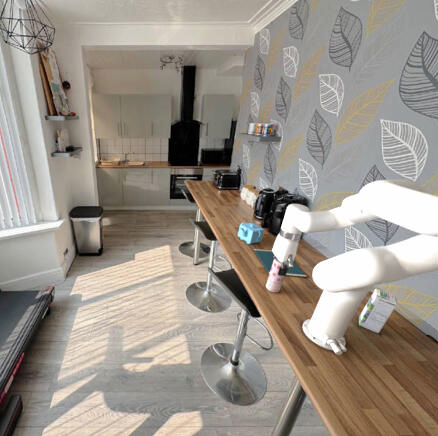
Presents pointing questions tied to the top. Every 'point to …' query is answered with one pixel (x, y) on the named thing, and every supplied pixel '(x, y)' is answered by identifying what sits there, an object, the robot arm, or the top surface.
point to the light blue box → (250, 233)
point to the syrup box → (377, 310)
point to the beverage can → (275, 277)
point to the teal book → (267, 260)
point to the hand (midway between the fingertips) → (278, 270)
